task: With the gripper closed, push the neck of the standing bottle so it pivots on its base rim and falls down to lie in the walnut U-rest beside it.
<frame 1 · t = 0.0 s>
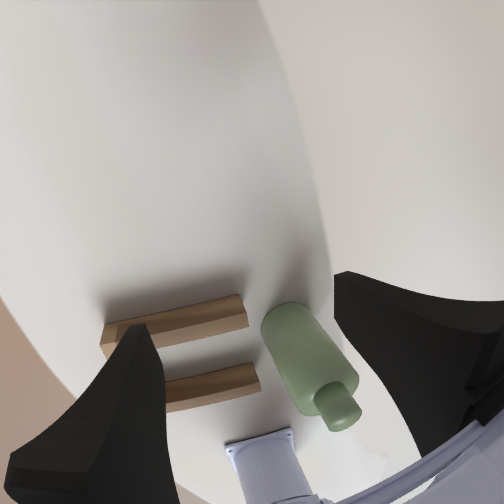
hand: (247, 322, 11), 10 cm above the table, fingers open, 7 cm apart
u rest: (190, 350, 23), on the table
bottle: (286, 325, 24), on the table
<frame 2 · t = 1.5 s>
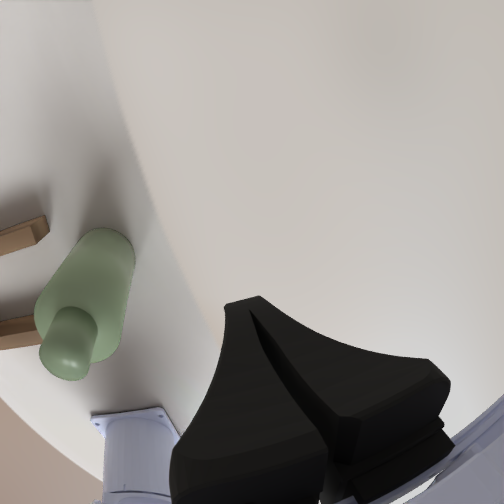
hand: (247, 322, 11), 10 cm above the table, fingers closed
u rest: (16, 282, 17), on the table
bottle: (104, 259, 19), on the table
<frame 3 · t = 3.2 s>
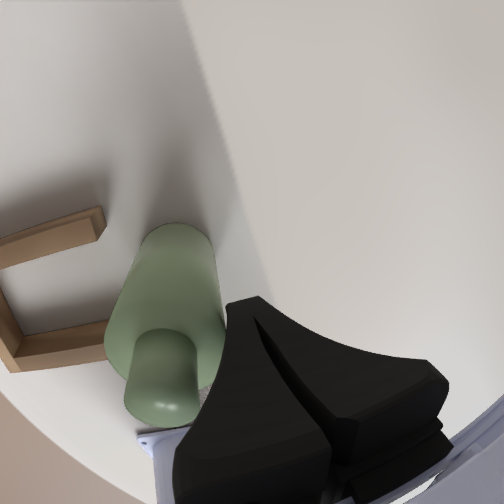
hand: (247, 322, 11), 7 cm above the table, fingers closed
u rest: (56, 288, 16), on the table
bottle: (176, 260, 17), on the table, touching gripper
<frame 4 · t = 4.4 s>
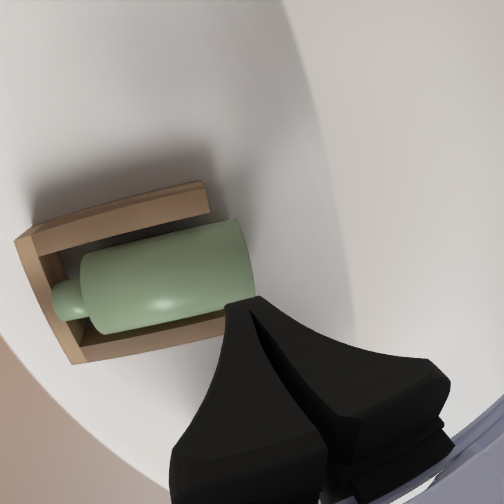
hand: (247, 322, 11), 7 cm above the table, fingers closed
u rest: (137, 268, 17), on the table
bottle: (242, 260, 16), point 2 cm above the table, tilted 90°
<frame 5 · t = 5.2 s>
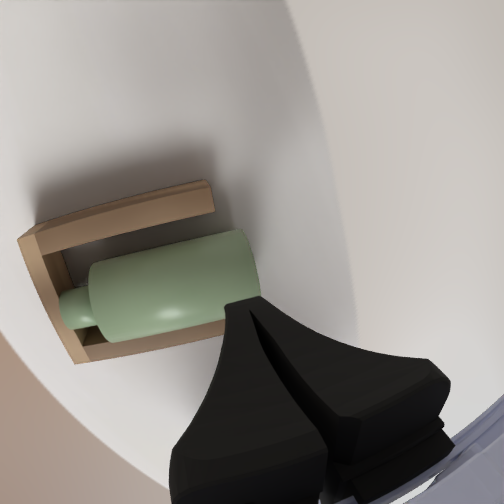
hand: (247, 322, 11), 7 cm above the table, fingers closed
u rest: (141, 267, 17), on the table
bottle: (248, 269, 16), point 2 cm above the table, tilted 90°
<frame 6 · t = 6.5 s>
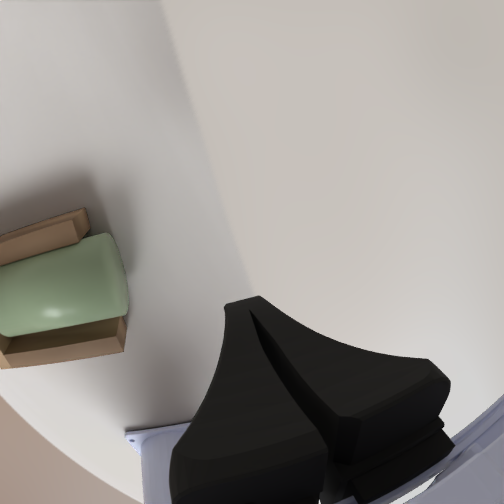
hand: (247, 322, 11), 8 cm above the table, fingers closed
u rest: (44, 287, 16), on the table
bottle: (115, 273, 15), point 2 cm above the table, tilted 90°
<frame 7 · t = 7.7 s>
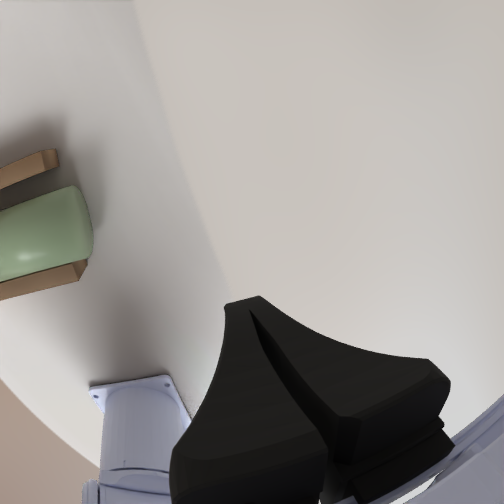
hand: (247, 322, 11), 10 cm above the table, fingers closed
u rest: (17, 225, 16), on the table
bottle: (79, 221, 16), point 2 cm above the table, tilted 90°
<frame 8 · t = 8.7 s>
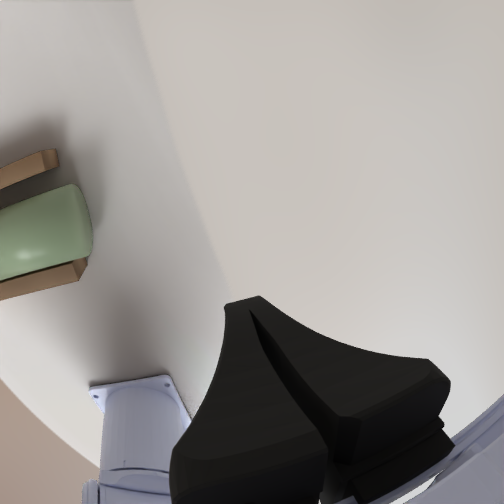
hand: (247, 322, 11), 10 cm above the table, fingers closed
u rest: (17, 225, 16), on the table
bottle: (79, 219, 16), point 2 cm above the table, tilted 90°
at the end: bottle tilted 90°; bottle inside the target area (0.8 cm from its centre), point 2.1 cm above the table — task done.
